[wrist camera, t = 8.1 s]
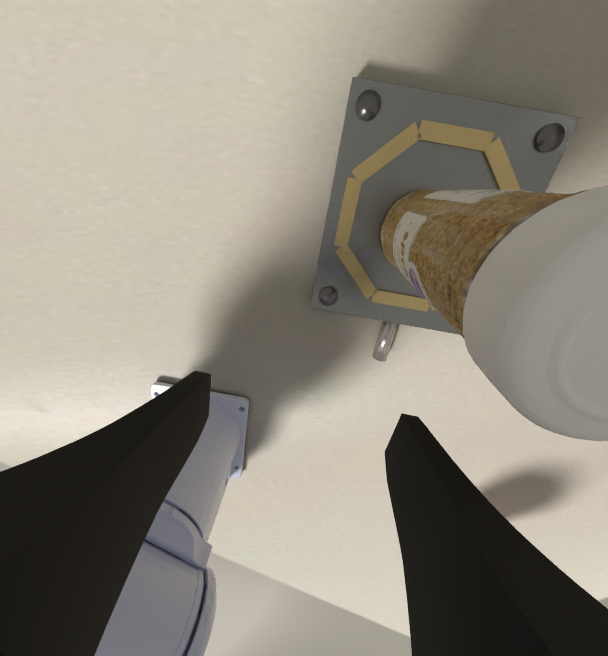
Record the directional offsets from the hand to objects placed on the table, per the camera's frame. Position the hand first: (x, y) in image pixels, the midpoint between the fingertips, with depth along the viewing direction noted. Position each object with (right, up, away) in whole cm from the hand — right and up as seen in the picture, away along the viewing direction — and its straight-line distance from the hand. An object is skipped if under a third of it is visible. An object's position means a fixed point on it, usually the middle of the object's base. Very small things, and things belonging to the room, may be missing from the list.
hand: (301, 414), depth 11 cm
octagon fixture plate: (+7, +8, +7) cm, 13 cm away
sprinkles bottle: (+7, +9, +6) cm, 13 cm away
